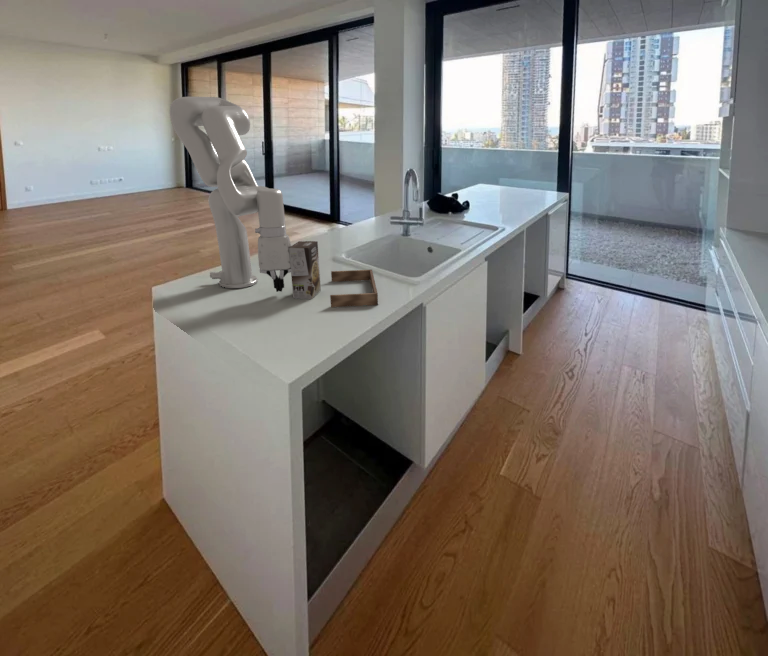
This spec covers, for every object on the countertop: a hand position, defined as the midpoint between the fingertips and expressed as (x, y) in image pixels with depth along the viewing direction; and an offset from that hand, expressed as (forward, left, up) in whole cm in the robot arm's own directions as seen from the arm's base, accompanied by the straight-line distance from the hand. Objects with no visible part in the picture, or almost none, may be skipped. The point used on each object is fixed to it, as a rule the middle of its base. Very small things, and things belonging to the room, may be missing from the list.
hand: (279, 290), depth 156 cm
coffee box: (+9, 0, -2) cm, 9 cm away
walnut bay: (+23, 0, -2) cm, 23 cm away
